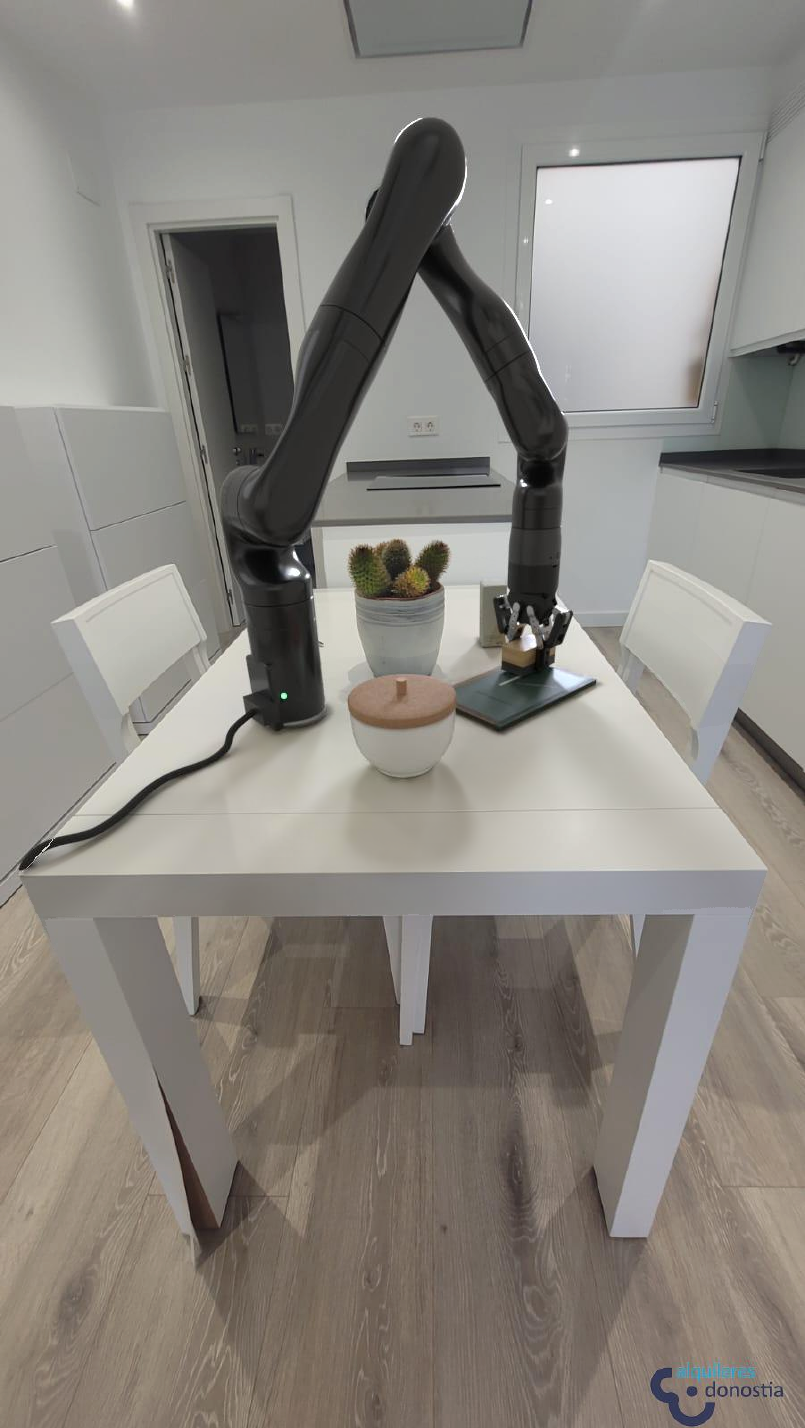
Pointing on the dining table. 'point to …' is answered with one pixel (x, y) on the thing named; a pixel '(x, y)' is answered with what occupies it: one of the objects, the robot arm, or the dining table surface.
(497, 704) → the chalkboard
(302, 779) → the dining table surface
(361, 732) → the lidded bowl
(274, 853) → the dining table surface
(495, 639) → the box
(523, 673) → the eraser
